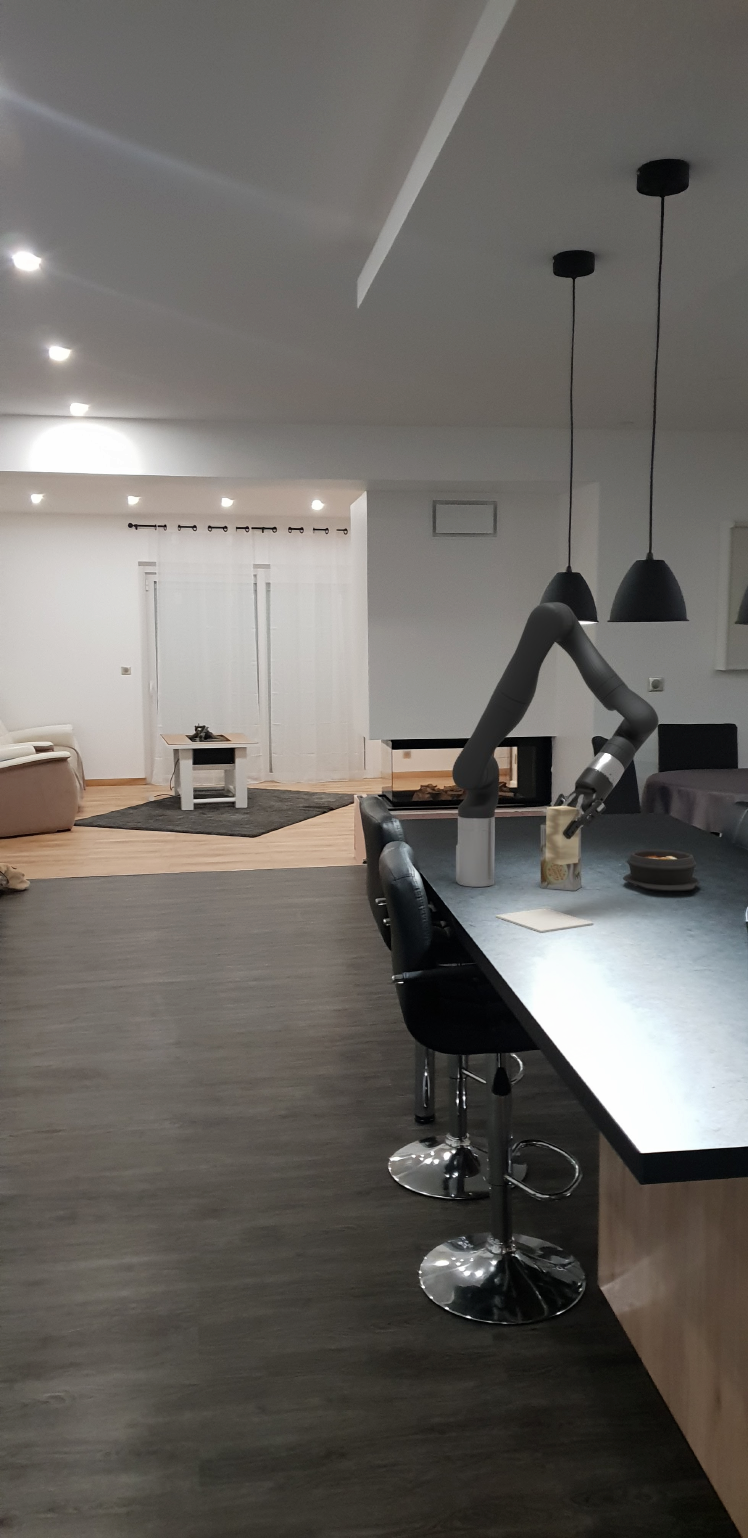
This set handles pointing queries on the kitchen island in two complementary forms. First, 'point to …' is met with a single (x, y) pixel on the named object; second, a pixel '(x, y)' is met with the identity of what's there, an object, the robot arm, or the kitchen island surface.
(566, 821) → the birch block
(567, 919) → the felt mat
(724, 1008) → the kitchen island surface
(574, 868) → the coffee box
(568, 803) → the robot arm
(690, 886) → the casserole
